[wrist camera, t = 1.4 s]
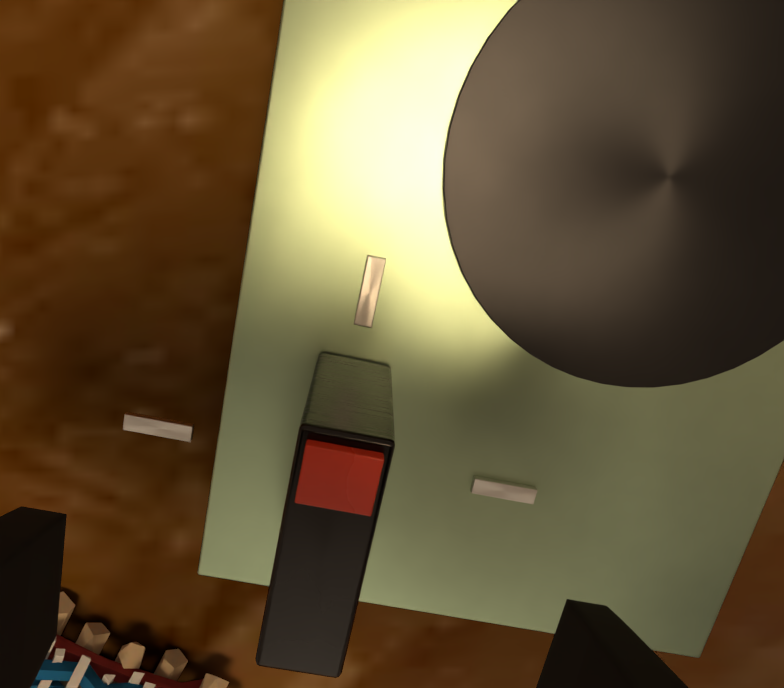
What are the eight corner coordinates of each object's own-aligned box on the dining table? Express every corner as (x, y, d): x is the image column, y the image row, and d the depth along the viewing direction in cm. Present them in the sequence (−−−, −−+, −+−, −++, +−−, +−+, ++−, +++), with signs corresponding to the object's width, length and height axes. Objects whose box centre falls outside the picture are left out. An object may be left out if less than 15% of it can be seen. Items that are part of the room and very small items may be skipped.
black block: (348, 556, 15) (339, 691, 11) (282, 544, 15) (251, 678, 11) (392, 365, 14) (396, 450, 10) (319, 350, 14) (298, 431, 10)
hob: (649, 620, 19) (690, 694, 16) (142, 534, 18) (104, 599, 15) (893, -3, 14) (1000, -30, 12) (227, -173, 13) (192, -243, 11)
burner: (788, 418, 14) (793, 422, 14) (399, 341, 14) (400, 344, 14) (969, -14, 12) (979, -16, 12) (508, -133, 11) (509, -138, 11)
